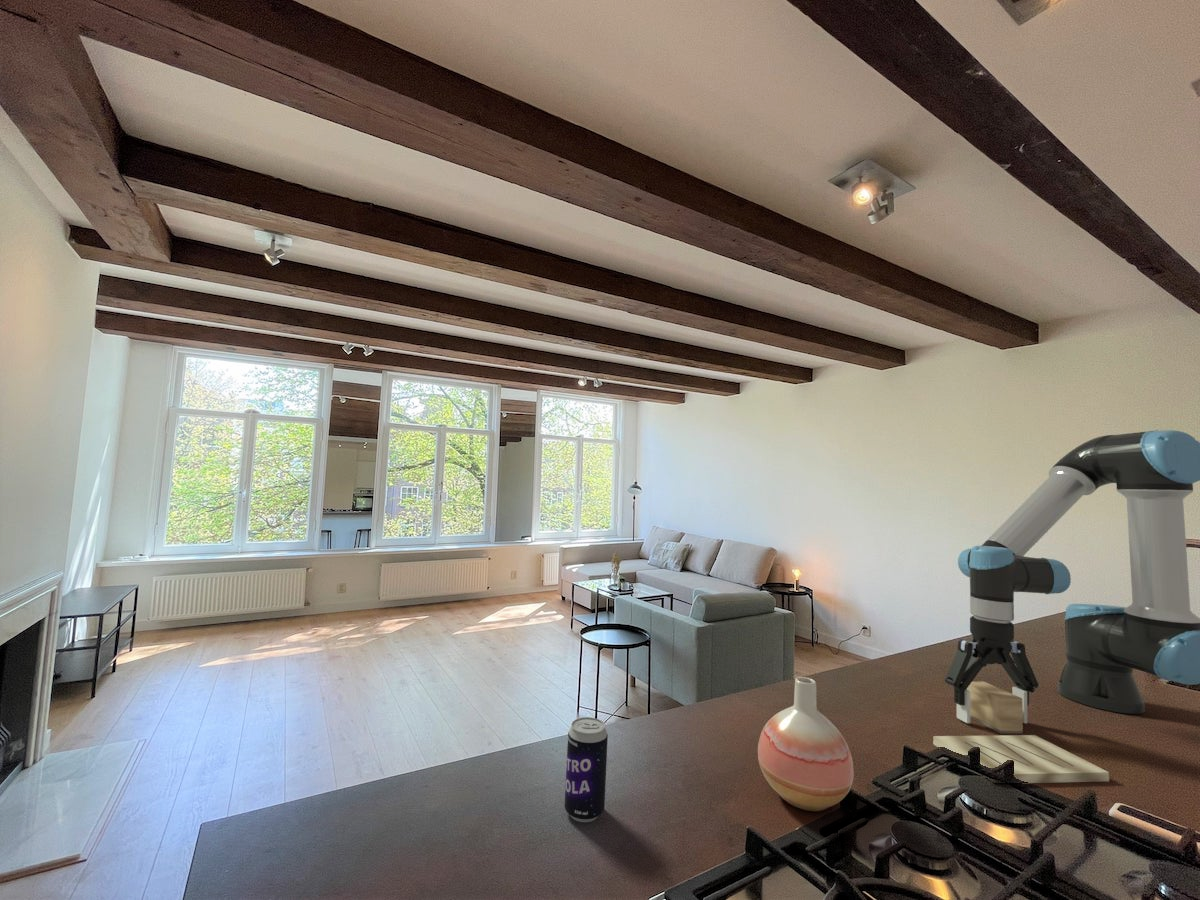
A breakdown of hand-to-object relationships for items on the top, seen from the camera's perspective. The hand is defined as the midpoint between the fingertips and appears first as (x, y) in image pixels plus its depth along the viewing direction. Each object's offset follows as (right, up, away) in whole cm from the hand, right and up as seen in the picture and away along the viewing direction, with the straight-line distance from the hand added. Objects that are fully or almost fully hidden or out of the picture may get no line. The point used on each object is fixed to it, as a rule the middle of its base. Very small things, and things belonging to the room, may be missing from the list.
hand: (991, 720), depth 108 cm
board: (-8, +1, -16) cm, 18 cm away
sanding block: (0, -1, 0) cm, 1 cm away
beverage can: (-86, +6, -36) cm, 94 cm away
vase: (-53, +4, -30) cm, 61 cm away
